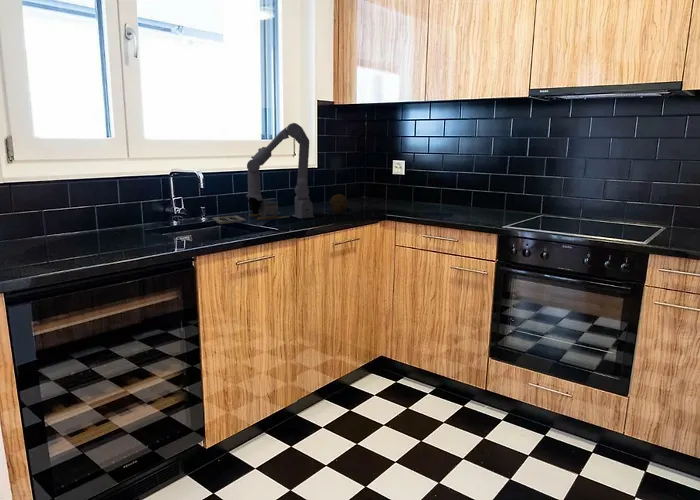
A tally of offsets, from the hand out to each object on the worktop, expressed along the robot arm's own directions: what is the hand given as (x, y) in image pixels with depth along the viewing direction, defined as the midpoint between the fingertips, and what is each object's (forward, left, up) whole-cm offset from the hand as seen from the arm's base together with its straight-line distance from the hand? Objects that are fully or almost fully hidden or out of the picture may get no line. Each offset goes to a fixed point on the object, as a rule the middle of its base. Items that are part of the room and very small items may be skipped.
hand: (255, 213), depth 237 cm
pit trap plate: (0, +13, -2) cm, 13 cm away
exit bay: (0, -12, -2) cm, 12 cm away
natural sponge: (-11, -40, -2) cm, 41 cm away
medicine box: (0, -7, -2) cm, 7 cm away
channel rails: (0, -4, -2) cm, 4 cm away
